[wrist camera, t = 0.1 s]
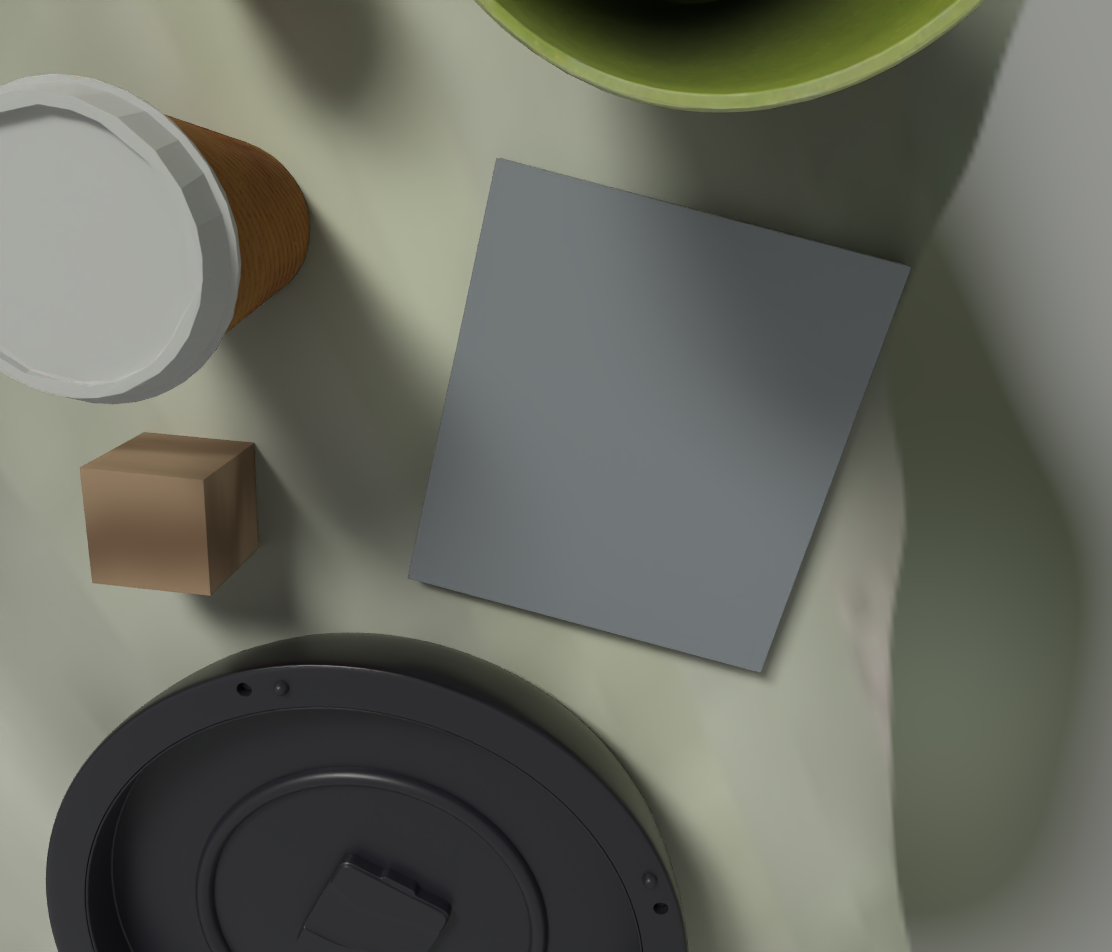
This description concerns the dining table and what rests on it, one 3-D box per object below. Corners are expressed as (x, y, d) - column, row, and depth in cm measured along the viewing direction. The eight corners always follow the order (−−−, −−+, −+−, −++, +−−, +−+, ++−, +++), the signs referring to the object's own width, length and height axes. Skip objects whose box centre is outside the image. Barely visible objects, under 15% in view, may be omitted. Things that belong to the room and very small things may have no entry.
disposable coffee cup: (316, 73, 36) (160, 37, 24) (373, 320, 39) (258, 390, 27) (89, 120, 37) (-157, 106, 26) (161, 354, 40) (-32, 434, 29)
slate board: (500, 158, 36) (496, 158, 35) (904, 264, 36) (911, 267, 35) (413, 568, 42) (407, 578, 41) (758, 661, 42) (760, 672, 41)
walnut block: (145, 431, 41) (79, 467, 37) (254, 442, 41) (203, 480, 36) (153, 535, 43) (92, 583, 38) (259, 546, 43) (210, 595, 38)
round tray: (222, 492, 42) (43, 934, 52) (156, 545, 37) (-31, 1029, 47) (801, 783, 44) (521, 1155, 54) (822, 875, 39) (506, 1272, 49)
